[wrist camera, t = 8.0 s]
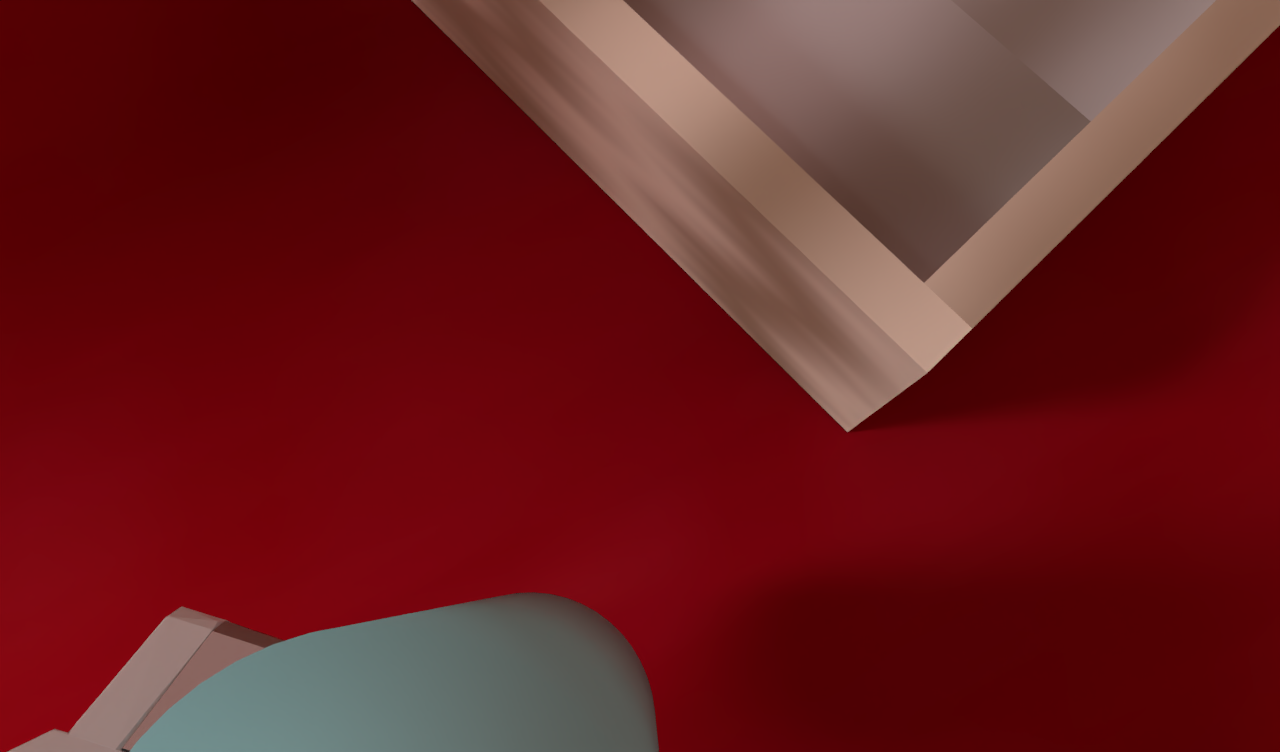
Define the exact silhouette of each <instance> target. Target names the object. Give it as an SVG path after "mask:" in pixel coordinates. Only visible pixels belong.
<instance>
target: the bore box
mask: <svg viewBox="0 0 1280 752" xmlns="http://www.w3.org/2000/svg"><path fill="white" fill-rule="evenodd" d="M412 1H413V2H414V3H415V4H416V5H417V6H418V7H419V8H420V9H421V10H422V11H423V12H424V13H425V14H426V15H427V16H428V17H429V18H430V19H431V20H432V21H433V22H434V23H435V24H436V25H437V26H438V27H439V28H440V29H441V30H442V31H443V32H444V33H445V34H446V35H447V36H448V37H449V38H450V39H451V40H452V41H453V42H454V43H455V44H456V45H457V46H458V47H459V48H460V49H461V50H462V51H463V52H464V53H465V54H466V55H467V56H468V57H469V58H470V59H471V60H472V61H473V62H474V63H475V64H476V65H477V66H478V67H479V68H480V69H481V70H482V71H483V72H484V73H485V74H486V75H487V76H488V77H489V78H490V79H491V80H492V81H493V82H494V83H495V84H496V85H497V86H498V87H499V88H500V89H501V90H502V91H503V92H504V93H505V94H507V95H508V96H509V97H510V98H511V99H512V100H513V101H514V102H515V103H516V104H517V105H518V106H519V107H520V108H521V109H522V110H523V111H524V112H525V113H526V114H527V115H528V116H529V117H530V118H531V119H532V120H533V121H534V122H535V123H536V124H537V125H538V126H539V127H540V128H541V129H542V130H543V131H544V132H545V133H546V134H547V135H548V136H549V137H550V138H551V139H552V140H553V141H554V142H555V143H556V144H557V145H558V146H559V147H560V148H561V149H562V150H563V151H564V152H565V153H566V154H567V155H568V156H569V157H570V158H571V159H572V160H573V161H574V162H575V163H576V164H577V165H578V166H579V167H580V168H581V169H582V170H583V171H584V172H585V173H586V174H587V175H588V176H589V177H590V178H591V179H592V180H593V181H594V182H595V183H596V184H597V185H598V186H599V187H600V188H601V189H602V190H603V191H604V192H605V193H606V194H607V195H608V196H609V197H610V198H611V199H612V200H614V201H615V202H616V203H617V204H618V205H619V206H620V207H621V208H622V209H623V210H624V211H625V212H626V213H627V214H628V215H629V216H630V217H631V218H632V219H633V220H634V221H635V222H636V223H637V224H638V225H639V226H640V227H641V228H642V229H643V230H644V231H645V232H646V233H647V234H648V235H649V236H650V237H651V238H652V239H653V240H654V241H655V242H656V243H657V244H658V245H659V246H660V247H661V248H662V249H663V250H664V251H665V252H666V253H667V254H668V255H669V256H670V257H671V258H672V259H673V260H674V261H675V262H676V263H677V264H678V265H679V266H680V267H681V268H682V269H683V270H684V271H685V272H686V273H687V274H688V275H689V276H690V277H691V278H692V279H693V280H694V281H695V282H696V283H697V284H698V285H699V286H700V287H701V288H702V289H703V290H704V291H705V292H706V293H707V294H708V295H709V296H710V297H711V298H712V299H713V300H714V301H715V302H716V303H717V304H718V305H719V306H721V307H722V308H723V309H724V310H725V311H726V312H727V313H728V314H729V315H730V316H731V317H732V318H733V319H734V320H735V321H736V322H737V323H738V324H739V325H740V326H741V327H742V328H743V329H744V330H745V331H746V332H747V333H748V334H749V335H750V336H751V337H752V338H753V339H754V340H755V341H756V342H757V343H758V344H759V345H760V346H761V347H762V348H763V349H764V350H765V351H766V352H767V353H768V354H769V355H770V356H771V357H772V358H773V359H774V360H775V361H776V362H777V363H778V364H779V365H780V366H781V367H782V368H783V369H784V370H785V371H786V372H787V373H788V374H789V375H790V376H791V377H792V378H793V379H794V380H795V381H796V382H797V383H798V384H799V385H800V386H801V387H802V388H803V389H804V390H805V391H806V392H807V393H808V394H809V395H810V396H811V397H812V398H813V399H814V400H815V401H816V402H817V403H818V404H819V405H820V406H821V407H822V408H823V409H824V410H825V411H826V412H828V413H829V414H830V415H831V416H832V417H833V418H834V419H835V420H836V421H837V422H838V423H839V424H840V425H841V426H842V427H843V428H844V429H845V430H846V431H847V432H848V431H850V430H851V429H853V428H854V427H855V426H857V425H858V424H859V423H861V422H862V421H863V420H865V419H866V418H867V417H869V416H870V415H871V414H873V413H874V412H875V411H877V410H878V409H879V408H881V407H882V406H884V405H885V404H886V403H888V402H889V401H890V400H892V399H893V398H894V397H896V396H897V395H898V394H900V393H901V392H902V391H904V390H905V389H906V388H908V387H909V386H910V385H912V384H913V383H915V382H916V381H917V380H919V379H920V378H921V377H923V376H924V375H925V374H927V373H928V372H929V371H930V370H931V369H932V368H933V367H934V366H935V365H936V364H937V363H938V362H939V361H940V360H941V359H942V358H943V357H944V356H945V355H946V354H947V353H948V352H949V351H950V350H951V349H952V348H953V347H954V346H955V345H956V344H957V343H958V342H959V341H960V340H961V339H962V338H963V337H964V336H965V335H966V334H967V333H968V332H969V331H970V330H971V329H972V328H973V327H974V326H975V325H976V324H978V323H979V322H980V321H981V320H982V319H983V318H984V317H985V316H986V315H987V314H988V313H989V312H990V311H991V310H992V309H993V308H994V307H995V306H996V305H997V304H998V303H999V302H1000V301H1001V300H1002V299H1003V298H1004V297H1005V296H1006V295H1007V294H1008V293H1009V292H1010V291H1011V290H1012V289H1013V288H1014V287H1015V286H1016V285H1017V284H1018V283H1019V282H1020V281H1021V280H1022V279H1023V278H1024V277H1025V276H1026V275H1027V274H1028V273H1029V272H1030V271H1031V270H1032V269H1033V268H1034V267H1035V266H1036V265H1037V264H1038V263H1039V262H1040V261H1041V260H1042V259H1043V258H1044V257H1045V256H1046V255H1047V254H1048V253H1049V252H1050V251H1051V250H1052V249H1053V248H1054V247H1056V246H1057V245H1058V244H1059V243H1060V242H1061V241H1062V240H1063V239H1064V238H1065V237H1066V236H1067V235H1068V234H1069V233H1070V232H1071V231H1072V230H1073V229H1074V228H1075V227H1076V226H1077V225H1078V224H1079V223H1080V222H1081V221H1082V220H1083V219H1084V218H1085V217H1086V216H1087V215H1088V214H1089V213H1090V212H1091V211H1092V210H1093V209H1094V208H1095V207H1096V206H1097V205H1098V204H1099V203H1100V202H1101V201H1102V200H1103V199H1104V198H1105V197H1106V196H1107V195H1108V194H1109V193H1110V192H1111V191H1112V190H1113V189H1114V188H1115V187H1116V186H1117V185H1118V184H1119V183H1120V182H1121V181H1122V180H1123V179H1124V178H1125V177H1126V176H1127V175H1128V174H1129V173H1130V172H1131V171H1133V170H1134V169H1135V168H1136V167H1137V166H1138V165H1139V164H1140V163H1141V162H1142V161H1143V160H1144V159H1145V158H1146V157H1147V156H1148V155H1149V154H1150V153H1151V152H1152V151H1153V150H1154V149H1155V148H1156V147H1157V146H1158V145H1159V144H1160V143H1161V142H1162V141H1163V140H1164V139H1165V138H1166V137H1167V136H1168V135H1169V134H1170V133H1171V132H1172V131H1173V130H1174V129H1175V128H1176V127H1177V126H1178V125H1179V124H1180V123H1181V122H1182V121H1183V120H1184V119H1185V118H1186V117H1187V116H1188V115H1189V114H1190V113H1191V112H1192V111H1193V110H1194V109H1195V108H1196V107H1197V106H1198V105H1199V104H1200V103H1201V102H1202V101H1203V100H1204V99H1205V98H1206V97H1207V96H1208V95H1209V94H1211V93H1212V92H1213V91H1214V90H1215V89H1216V88H1217V87H1218V86H1219V85H1220V84H1221V83H1222V82H1223V81H1224V80H1225V79H1226V78H1227V77H1228V76H1229V75H1230V74H1231V73H1232V72H1233V71H1234V70H1235V69H1236V68H1237V67H1238V66H1239V65H1240V64H1241V63H1242V62H1243V61H1244V60H1245V59H1246V58H1247V57H1248V56H1249V55H1250V54H1251V53H1252V52H1253V51H1254V50H1255V49H1256V48H1257V47H1258V46H1259V45H1260V44H1261V43H1262V42H1263V41H1264V40H1265V39H1266V38H1267V37H1268V36H1269V35H1270V34H1271V33H1272V32H1273V31H1274V30H1275V29H1276V28H1277V27H1278V26H1279V25H1280V0H412Z"/></svg>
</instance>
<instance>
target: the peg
mask: <svg viewBox="0 0 1280 752" xmlns="http://www.w3.org/2000/svg"><path fill="white" fill-rule="evenodd" d="M129 752H659V747H658V737H657V727H656V717H655V708H654V702H653V696H652V691H651V688H650V685H649V681H648V678H647V675H646V673H645V671H644V668H643V666H642V664H641V661H640V660H639V658H638V656H637V655H636V653H635V651H634V650H633V648H632V646H631V645H630V644H629V642H628V641H627V640H626V639H625V637H624V636H623V635H622V634H621V633H620V632H619V631H618V630H617V629H616V628H615V627H614V626H613V625H612V624H611V623H610V622H609V621H608V620H606V619H605V618H604V617H602V616H601V615H600V614H598V613H597V612H596V611H594V610H592V609H590V608H588V607H586V606H585V605H583V604H581V603H578V602H576V601H573V600H570V599H568V598H565V597H560V596H556V595H552V594H544V593H515V594H510V595H504V596H498V597H493V598H488V599H483V600H478V601H472V602H467V603H462V604H457V605H452V606H446V607H441V608H436V609H431V610H426V611H421V612H415V613H410V614H405V615H400V616H395V617H390V618H384V619H379V620H374V621H369V622H364V623H358V624H353V625H348V626H343V627H338V628H333V629H327V630H322V631H317V632H312V633H308V634H305V635H302V636H298V637H295V638H292V639H289V640H286V641H282V642H279V643H276V644H273V645H271V646H268V647H266V648H264V649H262V650H260V651H257V652H255V653H253V654H251V655H249V656H247V657H244V658H242V659H240V660H238V661H236V662H234V663H232V664H231V665H229V666H228V667H226V668H224V669H223V670H221V671H220V672H218V673H216V674H215V675H213V676H212V677H210V678H208V679H207V680H205V681H203V682H202V683H200V684H199V685H198V686H197V687H195V688H194V689H193V690H192V691H190V692H189V693H188V694H187V695H185V696H184V697H183V698H182V699H180V700H179V701H178V702H177V703H176V704H174V705H173V706H172V707H171V708H169V709H168V710H167V711H166V712H165V713H164V714H163V715H162V716H161V717H160V718H159V719H158V720H157V721H156V722H155V723H154V724H153V725H152V726H151V727H150V729H149V730H148V731H147V732H146V733H145V734H144V735H143V736H142V737H141V738H140V739H139V740H138V741H137V742H136V744H135V745H134V746H133V748H132V749H131V750H130V751H129Z"/></svg>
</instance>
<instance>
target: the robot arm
mask: <svg viewBox="0 0 1280 752" xmlns="http://www.w3.org/2000/svg"><path fill="white" fill-rule="evenodd" d="M282 641H286V640H283V639H280V638H277V637H274V636H271V635H267V634H264V633H261V632H258V631H255V630H252V629H249V628H246V627H243V626H240V625H237V624H234V623H231V622H229V621H227V620H224V619H220V618H217V617H214V616H211V615H207V614H204V613H201V612H198V611H195V610H191V609H188V608H185V607H180V608H179V609H177V610H176V611H174V612H173V613H171V614H170V615H169V616H167V617H166V618H164V620H163V621H162V622H161V623H160V624H159V625H158V627H157V628H156V629H155V630H154V631H153V633H152V634H151V635H150V636H149V637H148V639H147V640H146V641H145V642H144V643H143V644H142V646H141V647H140V648H139V649H138V650H137V652H136V653H135V654H134V655H133V656H132V658H131V659H130V660H129V661H128V662H127V663H126V665H125V666H124V667H123V668H122V669H121V671H120V672H119V673H118V674H117V675H116V677H115V678H114V679H113V680H112V681H111V682H110V684H109V685H108V686H107V687H106V688H105V690H104V691H103V692H102V693H101V694H100V696H99V697H98V698H97V699H96V700H95V701H94V703H93V704H92V705H91V706H90V707H89V709H88V710H87V711H86V712H85V713H84V715H83V716H82V717H81V718H80V719H79V720H78V722H77V723H76V724H75V725H74V726H73V728H72V729H71V730H70V731H69V732H68V733H67V732H64V731H60V730H56V729H53V730H51V731H49V732H47V733H45V734H43V735H41V736H39V737H37V738H35V739H32V740H30V741H28V742H26V743H24V744H22V745H20V746H18V747H16V748H14V749H12V750H10V751H8V752H129V751H130V750H131V749H132V748H133V746H134V745H135V744H136V742H137V741H138V740H139V739H140V738H141V737H142V736H143V735H144V734H145V733H146V732H147V731H148V730H149V729H150V727H151V726H152V725H153V724H154V723H155V722H156V721H157V720H158V719H159V718H160V717H161V716H162V715H163V714H164V713H165V712H166V711H167V710H168V709H169V708H171V707H172V706H173V705H174V704H176V703H177V702H178V701H179V700H180V699H182V698H183V697H184V696H185V695H187V694H188V693H189V692H190V691H192V690H193V689H194V688H195V687H197V686H198V685H199V684H200V683H202V682H203V681H205V680H207V679H208V678H210V677H212V676H213V675H215V674H216V673H218V672H220V671H221V670H223V669H224V668H226V667H228V666H229V665H231V664H232V663H234V662H236V661H238V660H240V659H242V658H244V657H247V656H249V655H251V654H253V653H255V652H257V651H260V650H262V649H264V648H266V647H268V646H271V645H273V644H276V643H279V642H282Z"/></svg>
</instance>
